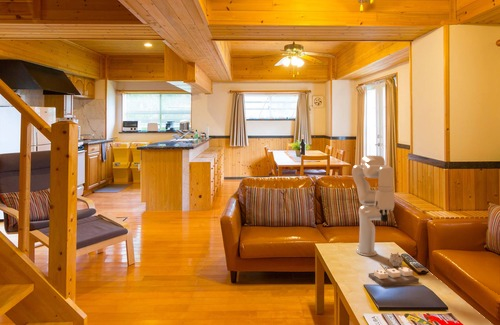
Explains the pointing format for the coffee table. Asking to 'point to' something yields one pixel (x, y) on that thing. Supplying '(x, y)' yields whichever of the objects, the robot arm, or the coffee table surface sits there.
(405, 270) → the two pip cube
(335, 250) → the coffee table surface
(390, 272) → the single pip block
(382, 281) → the brown board
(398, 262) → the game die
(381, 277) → the three dot tile
